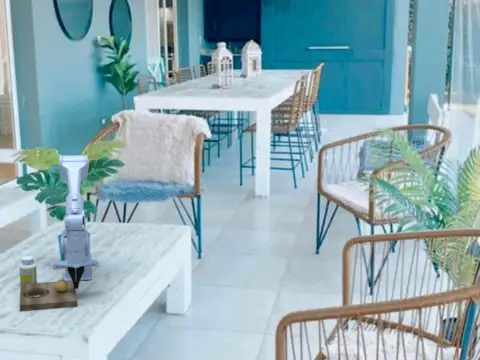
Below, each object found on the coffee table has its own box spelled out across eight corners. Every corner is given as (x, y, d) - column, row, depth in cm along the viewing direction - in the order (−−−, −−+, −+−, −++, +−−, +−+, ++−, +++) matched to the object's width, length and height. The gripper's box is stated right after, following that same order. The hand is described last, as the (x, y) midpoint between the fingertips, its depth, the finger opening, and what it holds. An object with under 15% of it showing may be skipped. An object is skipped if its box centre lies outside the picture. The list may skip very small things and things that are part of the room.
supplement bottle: (31, 280, 230) (30, 254, 228) (39, 284, 227) (39, 257, 225) (17, 284, 226) (16, 257, 224) (26, 288, 223) (25, 261, 221)
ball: (67, 288, 220) (67, 277, 219) (68, 293, 216) (67, 281, 215) (55, 289, 219) (54, 278, 218) (55, 294, 215) (55, 282, 214)
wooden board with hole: (73, 285, 227) (73, 280, 227) (77, 306, 211) (77, 300, 210) (20, 289, 222) (20, 284, 222) (19, 311, 206) (19, 305, 205)
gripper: (53, 254, 210) (53, 294, 213) (99, 251, 214) (99, 290, 217) (52, 247, 216) (53, 286, 219) (97, 244, 220) (97, 282, 224)
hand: (76, 287), depth 218 cm, fingers closed
